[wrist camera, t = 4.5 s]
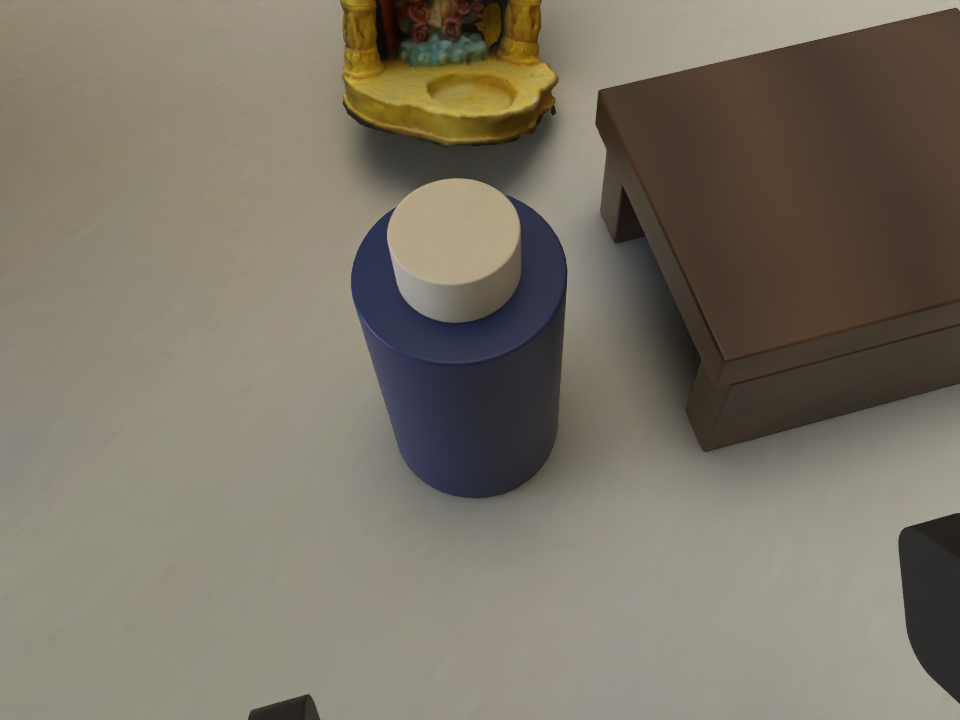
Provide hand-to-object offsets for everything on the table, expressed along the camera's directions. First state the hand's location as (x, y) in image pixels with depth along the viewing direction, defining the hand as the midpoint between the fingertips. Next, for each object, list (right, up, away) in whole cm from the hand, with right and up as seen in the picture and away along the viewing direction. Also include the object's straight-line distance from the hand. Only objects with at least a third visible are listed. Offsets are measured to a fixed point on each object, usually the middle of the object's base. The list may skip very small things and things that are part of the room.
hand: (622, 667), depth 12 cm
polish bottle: (-2, +2, +17) cm, 17 cm away
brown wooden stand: (+9, +7, +19) cm, 22 cm away
